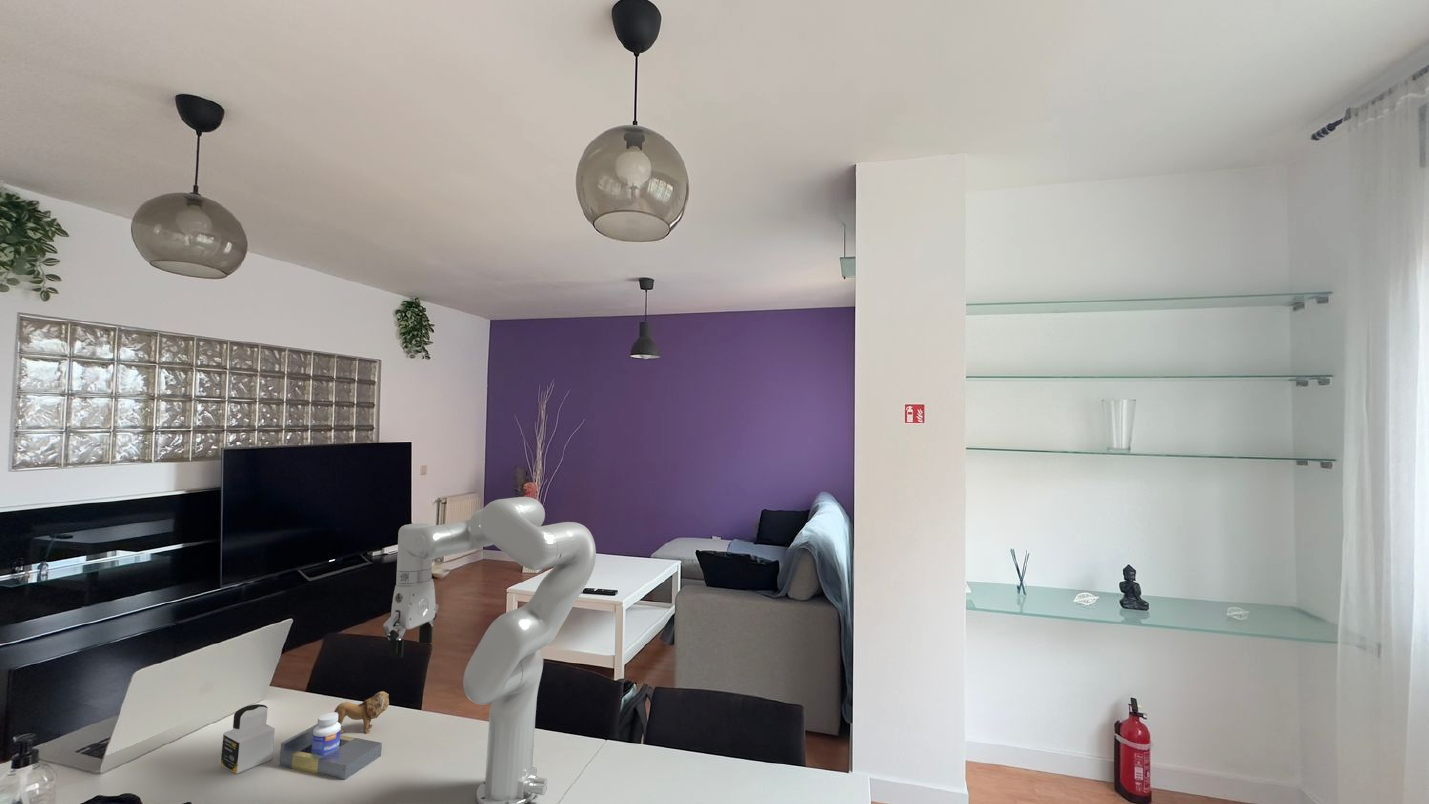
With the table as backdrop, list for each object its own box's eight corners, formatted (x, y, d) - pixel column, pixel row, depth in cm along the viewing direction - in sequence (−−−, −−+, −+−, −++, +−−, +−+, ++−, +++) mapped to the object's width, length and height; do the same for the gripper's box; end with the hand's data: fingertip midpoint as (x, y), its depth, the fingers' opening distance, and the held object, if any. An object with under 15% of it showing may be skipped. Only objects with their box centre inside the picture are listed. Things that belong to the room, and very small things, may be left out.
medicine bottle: (219, 765, 131) (224, 710, 132) (256, 750, 137) (261, 698, 138) (235, 774, 128) (240, 718, 128) (272, 759, 134) (277, 705, 135)
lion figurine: (390, 722, 153) (392, 687, 153) (383, 732, 148) (386, 696, 148) (326, 727, 149) (329, 691, 150) (318, 737, 144) (321, 700, 145)
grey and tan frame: (380, 756, 137) (382, 734, 137) (345, 779, 127) (347, 755, 128) (318, 743, 141) (320, 722, 142) (279, 765, 132) (281, 742, 132)
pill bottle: (324, 767, 132) (328, 723, 132) (304, 763, 133) (308, 719, 133) (344, 755, 137) (347, 712, 138) (324, 751, 138) (328, 709, 139)
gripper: (401, 585, 131) (398, 664, 129) (451, 569, 148) (448, 639, 146) (372, 583, 132) (369, 661, 131) (425, 568, 149) (422, 637, 148)
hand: (411, 649), depth 139 cm, fingers open, 9 cm apart
